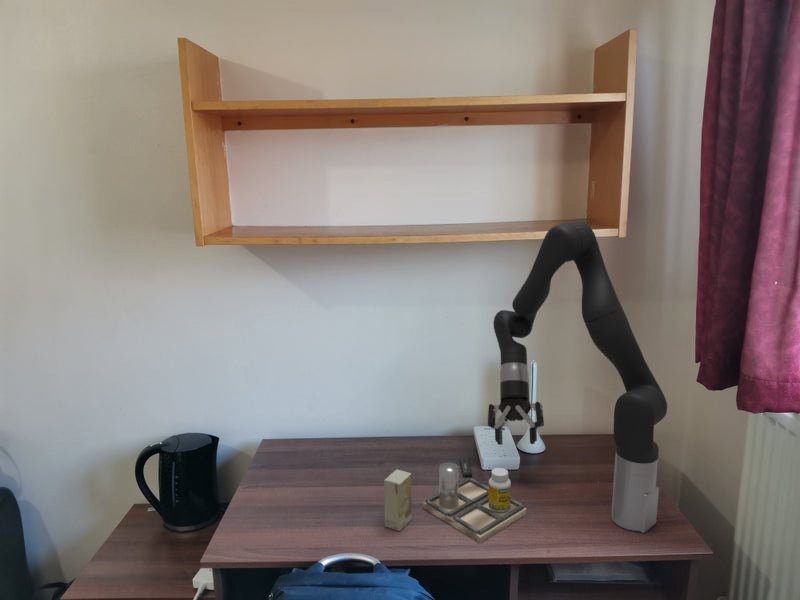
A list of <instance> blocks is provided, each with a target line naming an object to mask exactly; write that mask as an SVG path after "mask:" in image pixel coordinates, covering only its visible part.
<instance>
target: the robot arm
mask: <svg viewBox="0 0 800 600" xmlns="http://www.w3.org/2000/svg"><path fill="white" fill-rule="evenodd" d="M572 261H574V264H575V266H576V268H577V270H578V273H579V275H580V279H581V287H582V288H581V289H582V294H581V317H582V319H583V322H584V325H585V327H586V329H587V332H588V334H589V336H590V338H591V341H592V342H593V344H594V345H595V347H596V348H597V349H598V350H599V351H600V352H601V353H602V354H603V355H604V357H606V359H607V360H609V362H610V363H611V364H612V365H613V366H614V367H615V369H616V370H617V372H618V374H619V376H620V379H621V381H622V383H623V387H624V388H625V392H624V393H623V394H622V395H620V396H619V397H618V398H617V399H616V402H615V405H614V409H613V410H614V411H613V441H614V444H615V460H614V473H613V484H612V485H613V489H612V490H613V491H612V497H611V498H612V501H611V514H610V515H611V520H612V521H613V522H614V523H615V524H616V525H618V526H619V527H620V528H623V529H625V530H629V531H633V532H634V531H635V532H640V533H643V534H645V533H646V532H647V531H649V530H650V529H651V528H652V527H653V526H654V525H656V524H657V516H658V508H659V507H658V505H659V494H660V487H659V486H658V485H657V473H658V463H659V462H658V461H659V452H660V451H659V450H660V449H659V446H658V444H657V443H656V442H655V441H654V435H655V434H654V431H655V430H654V429H655V425H657V424H658V423H660V422H661V421H662V420H664V419H665V417H666V415H667V412H668V402H667V399H666V397H665V394H664V393H663V390H662V389H661V387H660V385H659V383H658V381H657V380H656V378H655V377H654V374H653V373H652V371H651V369H650V368H649V366H648V364H647V361H646V360H645V358H644V355H643V352H642V351H641V348H640V346H639V344H638V341H637V339H636V337H635V335H634V332H633V330H632V326H631V325H630V322H629V319H628V317H627V315H626V313H625V310H624V309H623V306H622V304H621V302H620V300H619V297H618V295H617V293H616V291H615V288H614V285H613V283H612V281H611V278H610V276H609V274H608V273H609V272H608V271H607V267H606V265H605V262H604V259H603V255H602V253H601V249H600V246H599V243H598V240H597V238H596V235H595V232H594V230H593V229H592V227H591V226H590V225H589V224H588V223H587V222H585V221H583V220H574V221H568V222H567V221H566V222H564V223H559V224H556V225H554V226H552V227H551V228H550V229H548V231H547V232H546V233H545V236H544V238H543V240H542V243H541V245H540V248H539V251H538V252H537V255H536V257H535V260H534V262H533V265H532V267H531V269H530V271H529V274H528V275H527V278H526V280H525V281H524V283H523V285H522V286H521V287H520V289H519V290H518V292H517V294H516V295H515V297H514V298H513V300H512V309H513V311H512V310H507V309H501V310H499V311H498V312H496V314H495V316H494V317H493V330H494V334H495V338H496V339H497V341H496V342H497V343H498V348H499V351H500V371H499V372H500V373H499V379H500V380H499V387H500V390H499V392H500V393H499V394H500V403H499V405H498V404H492V403H490V404H488V410H487V411H488V414H487V426H488V427H489V428H492V429H494V440H495V442H496V443H497V444H498V445H500V446H501V445H503V430H502V429H503V428H504V426H505V425H506V424H507V423H508V421H510V422H515V421H519V422H521V421H523V420H524V421H525V422H526V423H527V424H528V425H529V427H530V428H529V430H528V431H529V443H530V444H531V445H535V444H536V442H537V441H538V434H537V433H538V429H539V428H540V427H544V426H545V422H544V411H543V405H542V403H541V402H539V401H535V403H531V402H530V401H531V400H530V377H529V376H530V375H529V369H528V353H527V347H526V346H525V345H524V344H523V343H520V342H518V341H515V339H514V338H518V339H522V338H523V339H524V338H526V337H528V336H529V335H530V334H531V333H532V331H533V326H534V322H535V319H536V317H537V313H538V311H539V310H540V309H541V307H542V306H543V305H544V303H545V301H546V300H547V299H548V297H549V294H550V291H551V283H552V278H553V277H554V275H555V273H556V272H558V270H559V269H560V268H561V267H562V266H563V265H564V264H565V263H567V262H572ZM531 410H533V411H534V412H535V416H536V421H534V420H533V419H532V418H531V416H530V415H529V413H530V411H531ZM499 411H500V412H501V414H500V416H499V417H498V419H497V421H496V416H497V415H496V414H497V413H498V412H499Z"/></svg>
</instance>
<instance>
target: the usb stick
mask: <svg viewBox="0 0 800 600" xmlns="http://www.w3.org/2000/svg"><path fill="white" fill-rule="evenodd" d="M459 463H460V467H461V468H460V469H461V473H462V476H463V478H465V479H467V478H470V479H472V476H473V472H472V468H471V464H470V460H469V459H468V458H467V457H464V458H463V457H462V458H460V459H459Z"/></svg>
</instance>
